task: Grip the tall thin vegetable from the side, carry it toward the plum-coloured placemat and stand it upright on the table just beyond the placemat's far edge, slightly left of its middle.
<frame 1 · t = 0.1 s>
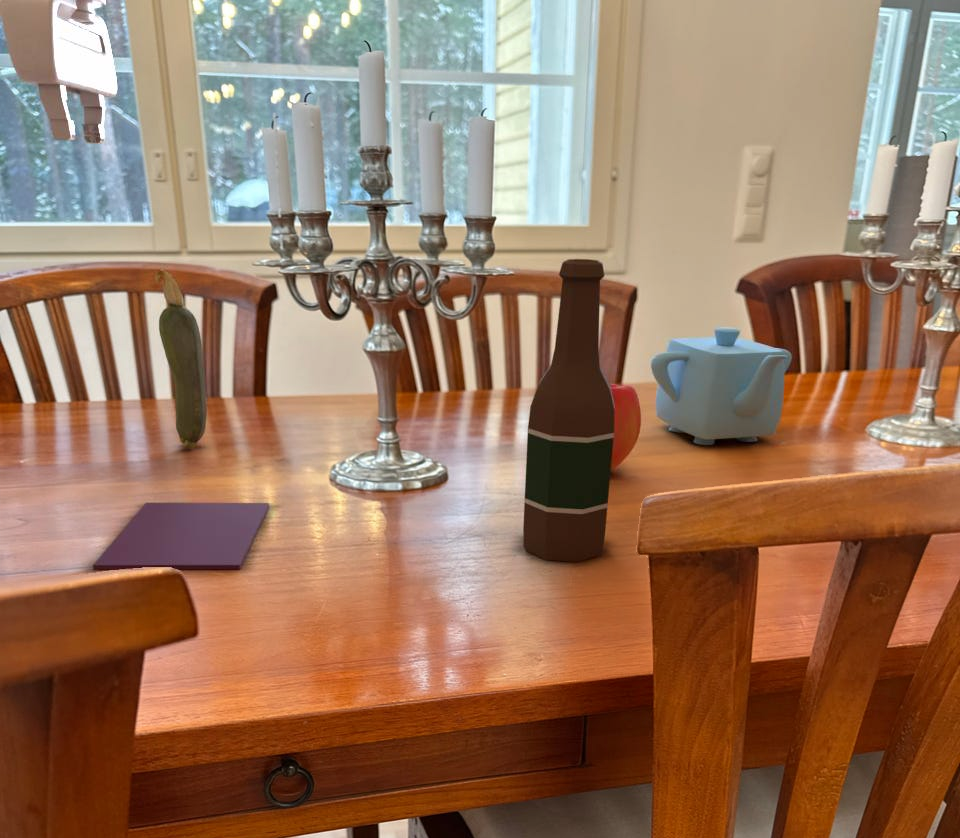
hand: (80, 142, 94), 32 cm above the table, tool pointing down, fingers open, 8 cm apart
beer bottle: (563, 549, 81), on the table
vegetable: (195, 450, 107), on the table
apple: (594, 472, 103), on the table
teapot: (718, 439, 117), on the table
placemat: (189, 535, 82), on the table
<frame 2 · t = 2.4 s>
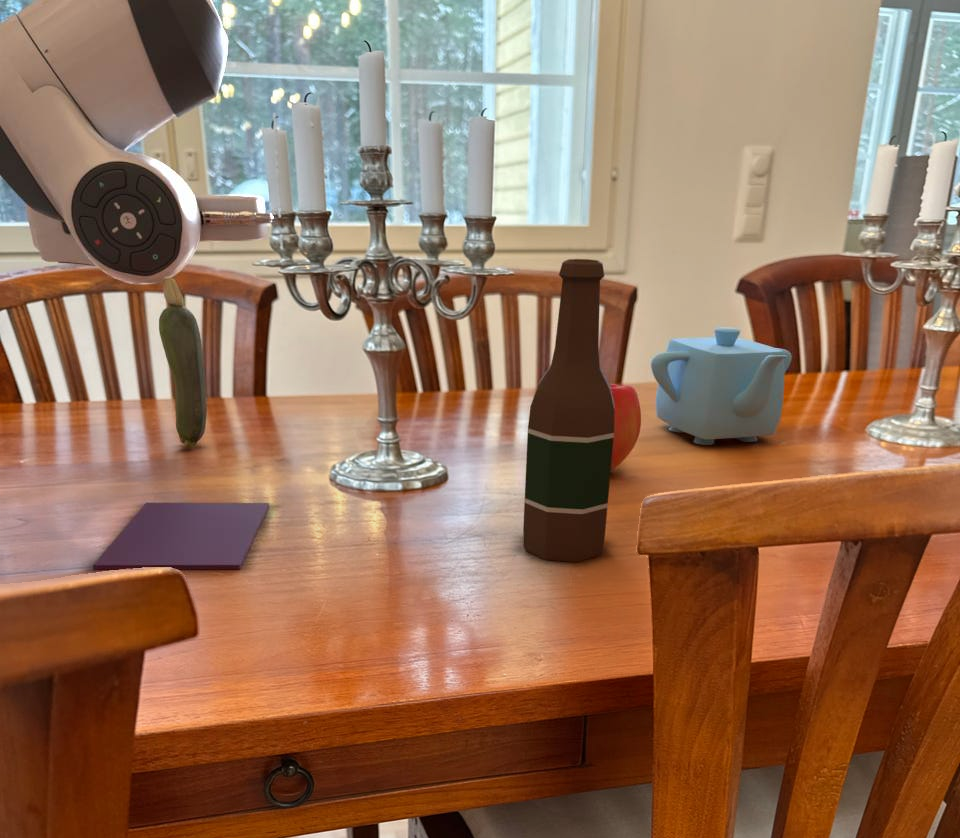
hand: (156, 217, 85), 26 cm above the table, tool horizontal, fingers open, 8 cm apart
nothing on the table moved.
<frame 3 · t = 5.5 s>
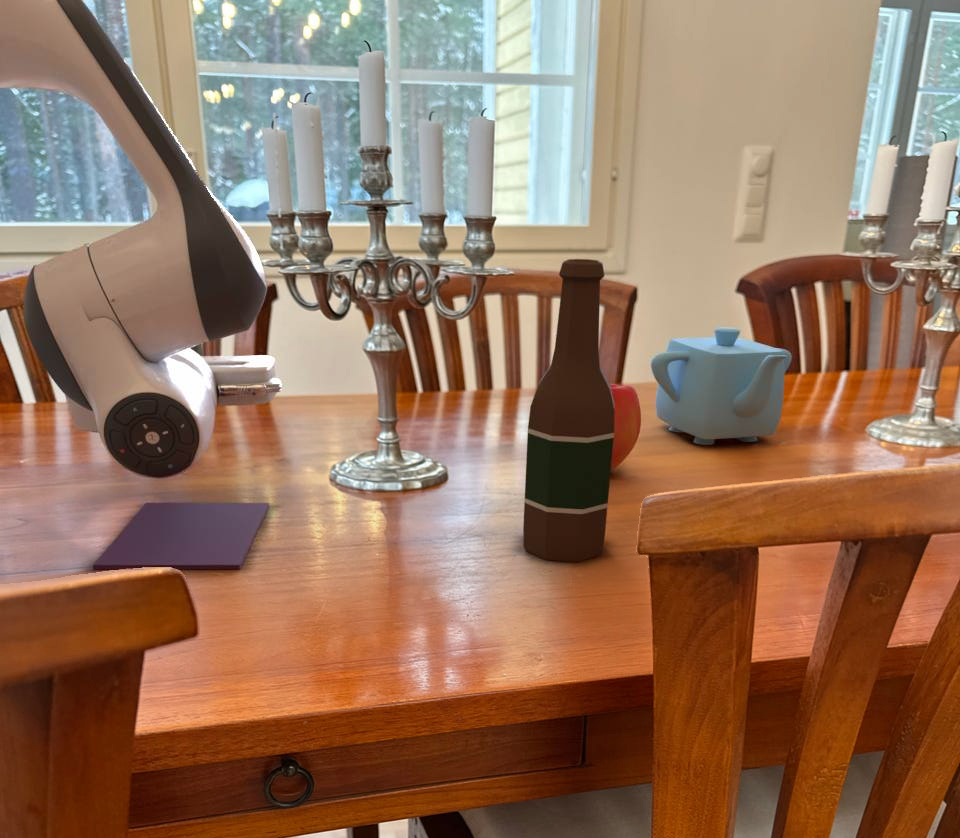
hand: (177, 365, 94), 11 cm above the table, tool horizontal, fingers open, 8 cm apart
nothing on the table moved.
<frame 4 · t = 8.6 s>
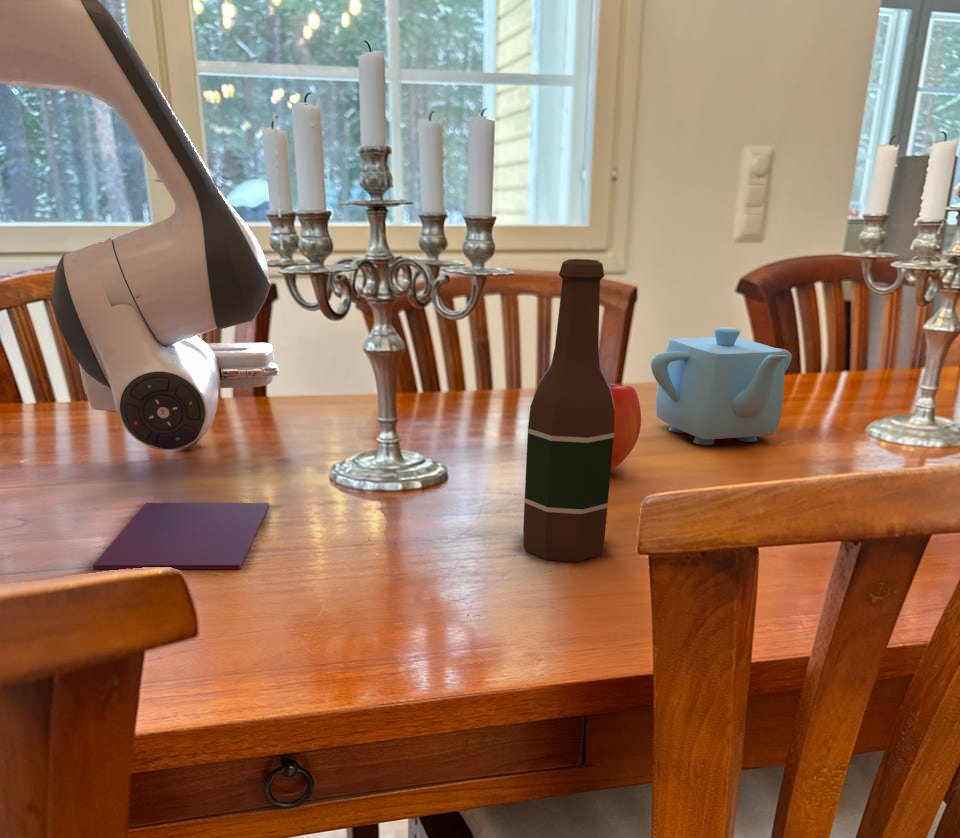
hand: (183, 352, 103), 11 cm above the table, tool horizontal, fingers closed on vegetable, 4 cm apart
vegetable: (195, 450, 107), on the table, touching gripper
everything else where it was.
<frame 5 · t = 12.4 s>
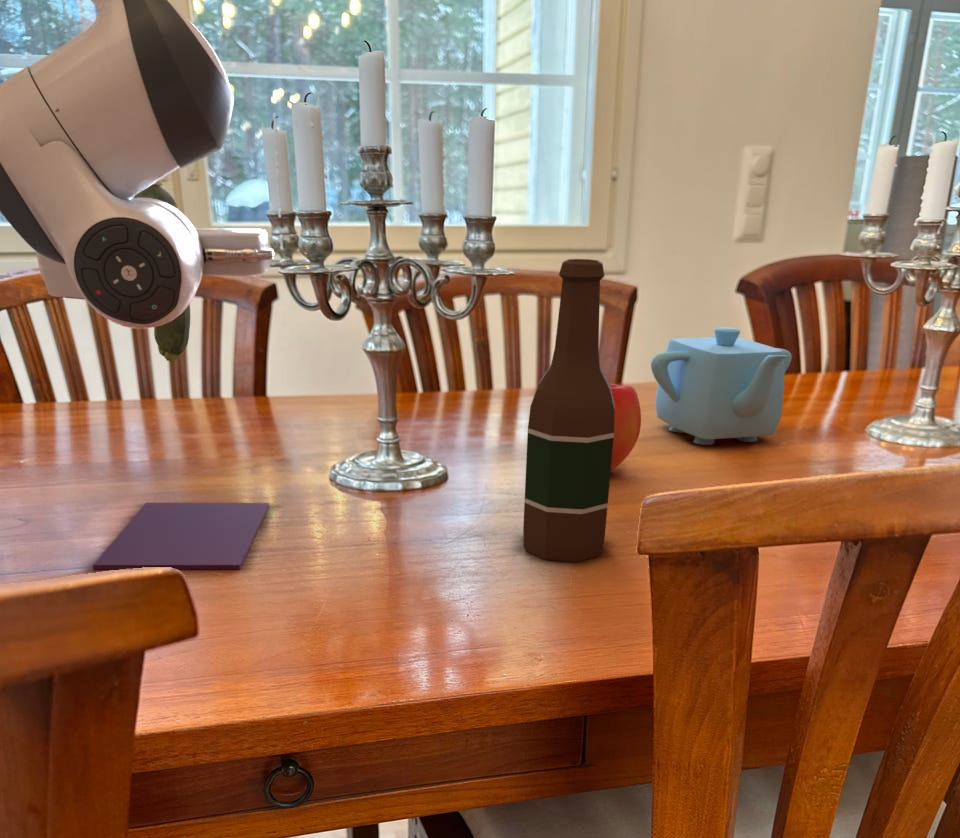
hand: (162, 245, 87), 23 cm above the table, tool horizontal, fingers closed on vegetable, 4 cm apart
vegetable: (177, 365, 92), point 12 cm above the table, touching gripper
everything else where it was.
when the fingers open (11 cm above the table, at t = 16.6 s): vegetable stays where it is, on the table.
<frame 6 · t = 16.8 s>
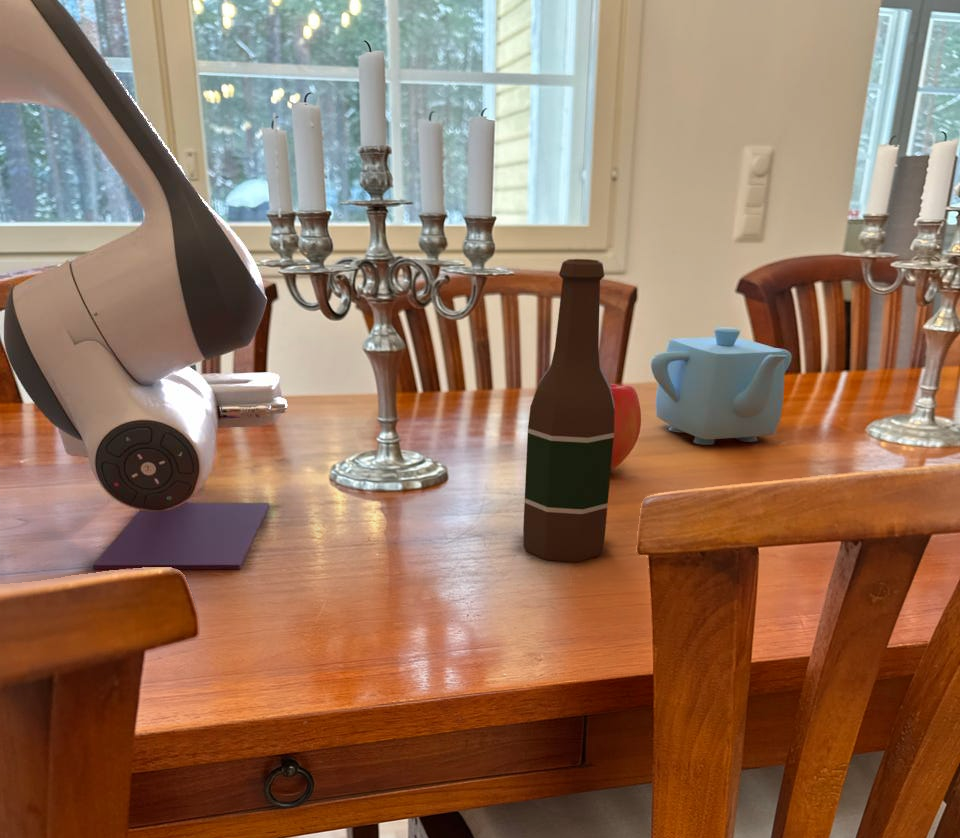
hand: (175, 382, 89), 11 cm above the table, tool horizontal, fingers open, 5 cm apart
vegetable: (189, 492, 93), on the table
everything else where it was.
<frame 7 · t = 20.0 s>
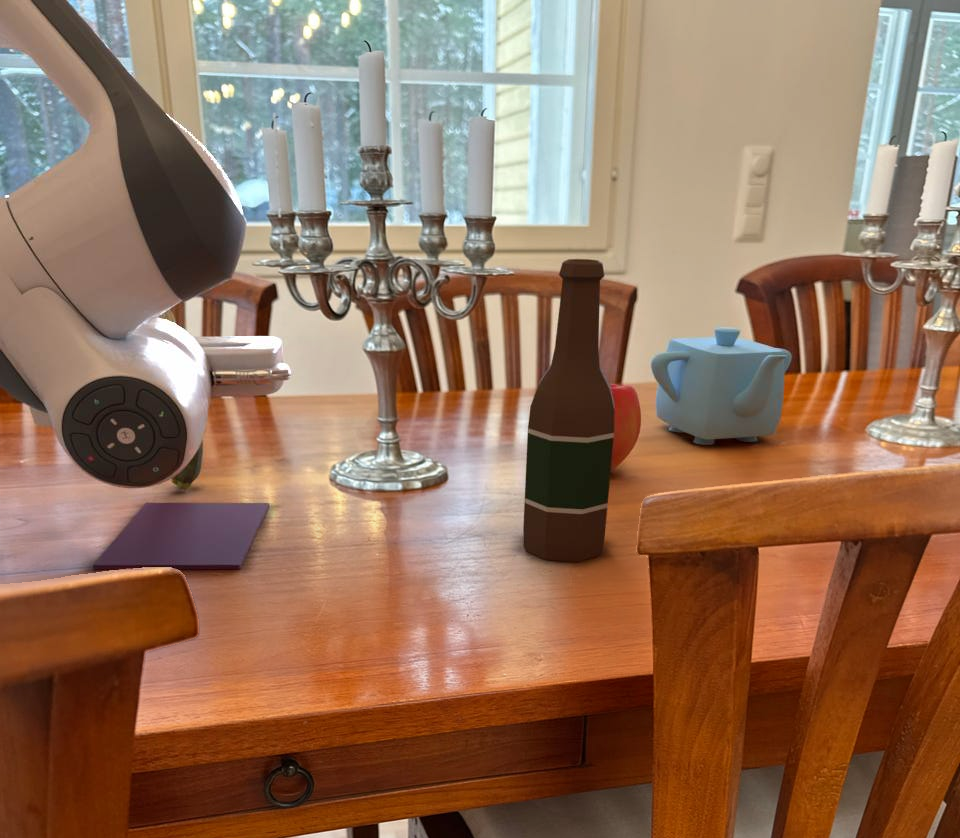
hand: (164, 348, 78), 16 cm above the table, tool horizontal, fingers open, 8 cm apart
nothing on the table moved.
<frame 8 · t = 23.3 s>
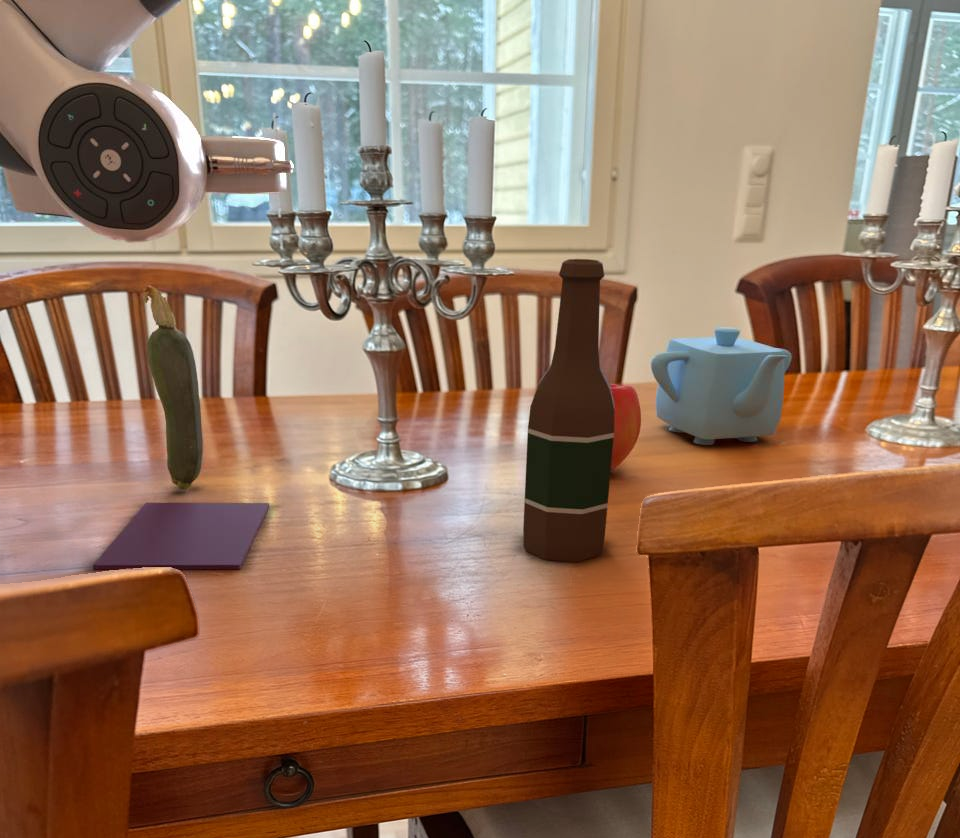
hand: (157, 164, 73), 30 cm above the table, tool horizontal, fingers open, 8 cm apart
nothing on the table moved.
at the end: vegetable inside the target area on the table beside the placemat (0.6 cm from its centre), on the table; vegetable tilted 0°; the gripper is holding nothing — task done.
